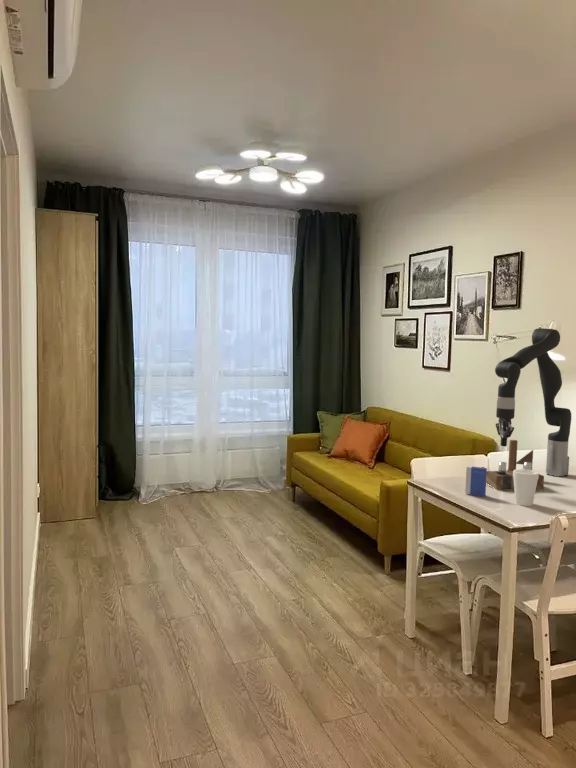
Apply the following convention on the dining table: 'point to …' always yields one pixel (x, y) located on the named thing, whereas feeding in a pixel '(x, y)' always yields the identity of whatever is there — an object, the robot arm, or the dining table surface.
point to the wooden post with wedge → (513, 456)
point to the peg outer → (502, 468)
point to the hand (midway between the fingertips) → (503, 446)
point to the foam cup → (525, 486)
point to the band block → (507, 480)
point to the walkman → (476, 480)
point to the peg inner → (527, 465)
